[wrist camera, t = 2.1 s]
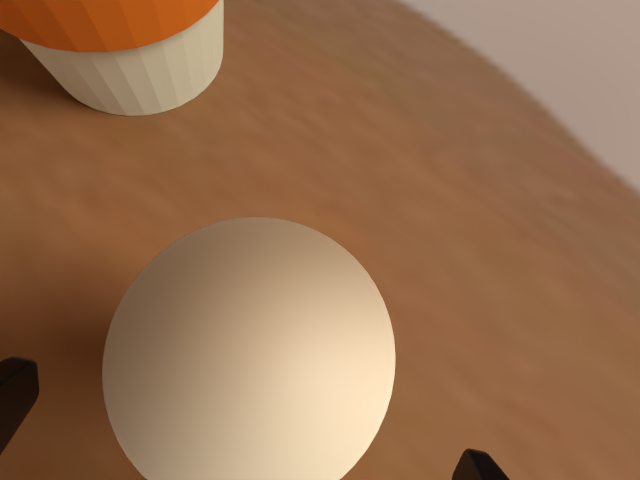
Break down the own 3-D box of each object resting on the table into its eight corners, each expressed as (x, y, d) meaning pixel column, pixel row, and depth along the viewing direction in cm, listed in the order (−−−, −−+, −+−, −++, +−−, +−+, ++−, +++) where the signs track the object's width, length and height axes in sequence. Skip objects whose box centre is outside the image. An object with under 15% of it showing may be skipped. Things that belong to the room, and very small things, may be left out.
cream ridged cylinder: (334, 407, 17) (448, 414, 6) (243, 459, 16) (163, 591, 5) (292, 319, 18) (316, 180, 7) (204, 362, 17) (65, 282, 6)
